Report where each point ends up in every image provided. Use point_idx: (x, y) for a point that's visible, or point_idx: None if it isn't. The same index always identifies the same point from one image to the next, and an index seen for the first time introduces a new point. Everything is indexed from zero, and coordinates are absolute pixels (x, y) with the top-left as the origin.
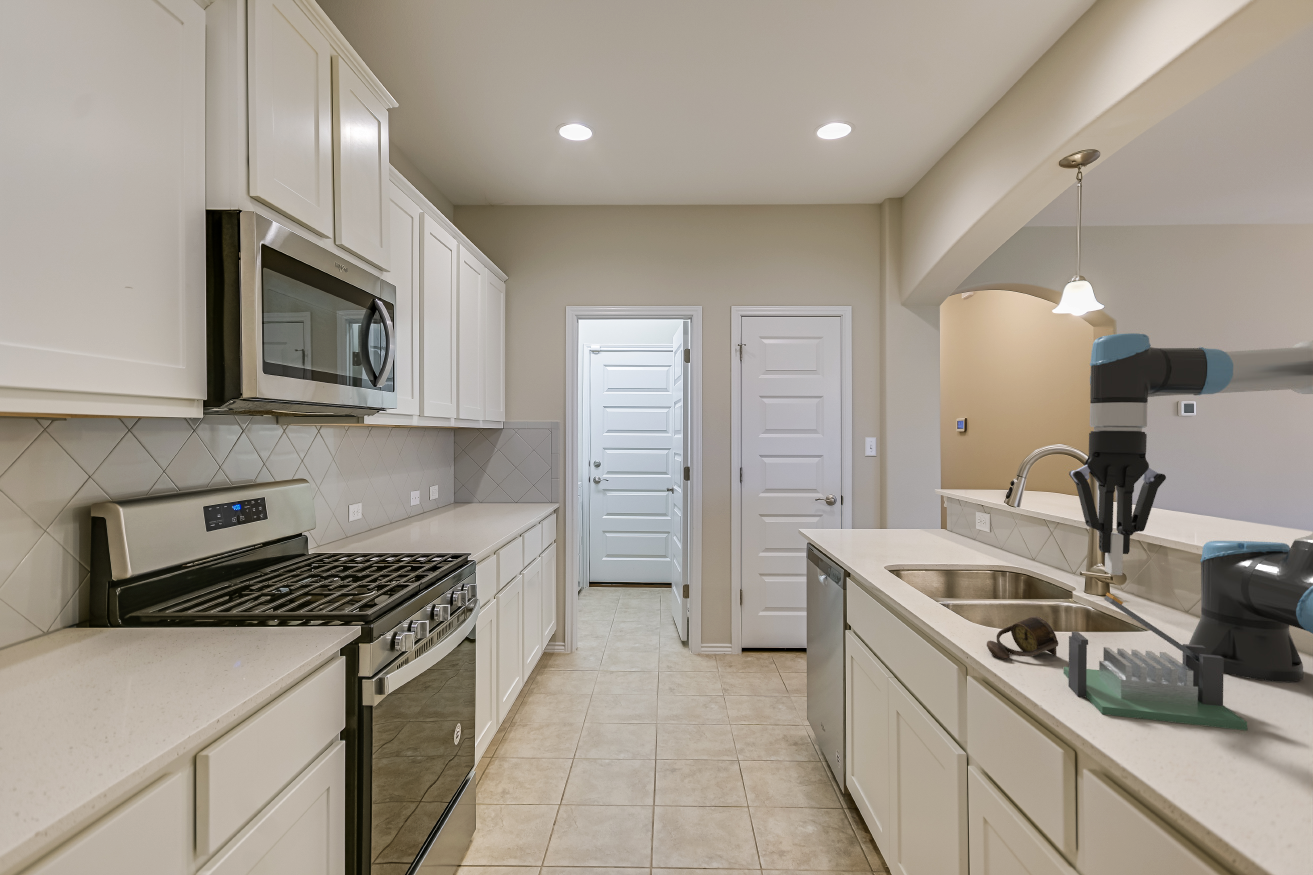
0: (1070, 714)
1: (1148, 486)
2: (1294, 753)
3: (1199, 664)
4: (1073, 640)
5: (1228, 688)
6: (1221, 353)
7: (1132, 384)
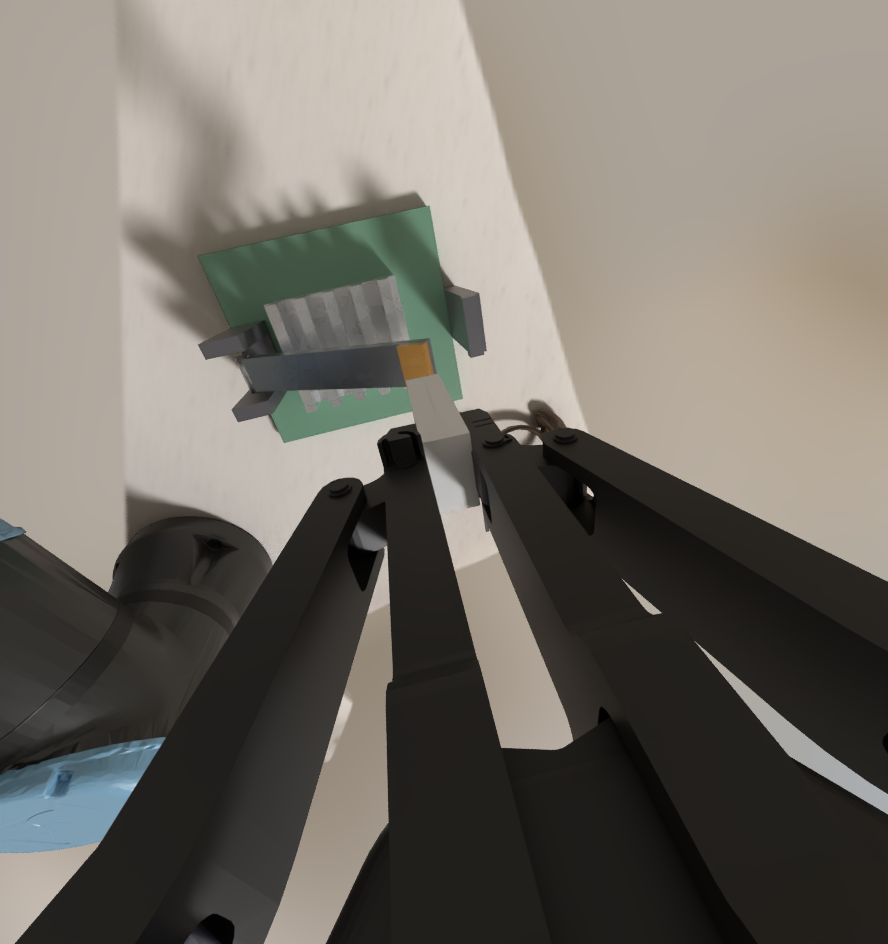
0: (480, 173)
1: (208, 846)
2: (131, 168)
3: (250, 345)
4: (482, 322)
5: (225, 457)
6: None
7: None
